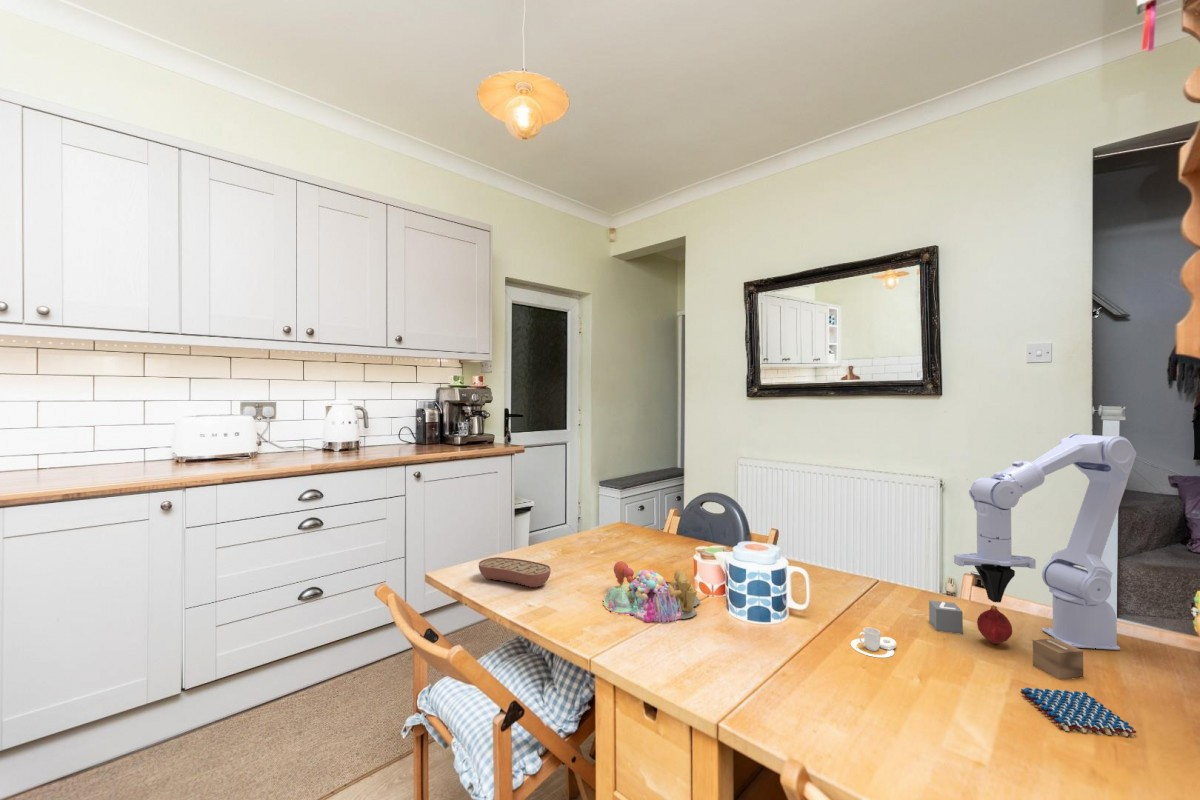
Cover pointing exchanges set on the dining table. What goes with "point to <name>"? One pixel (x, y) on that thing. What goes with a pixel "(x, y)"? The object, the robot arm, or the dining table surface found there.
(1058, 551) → the robot arm
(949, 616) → the slate grey block
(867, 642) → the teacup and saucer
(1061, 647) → the walnut block
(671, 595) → the candy landscape model
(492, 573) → the patterned shoe sole
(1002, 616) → the onion
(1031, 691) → the woven mat
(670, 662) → the dining table surface
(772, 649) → the dining table surface
